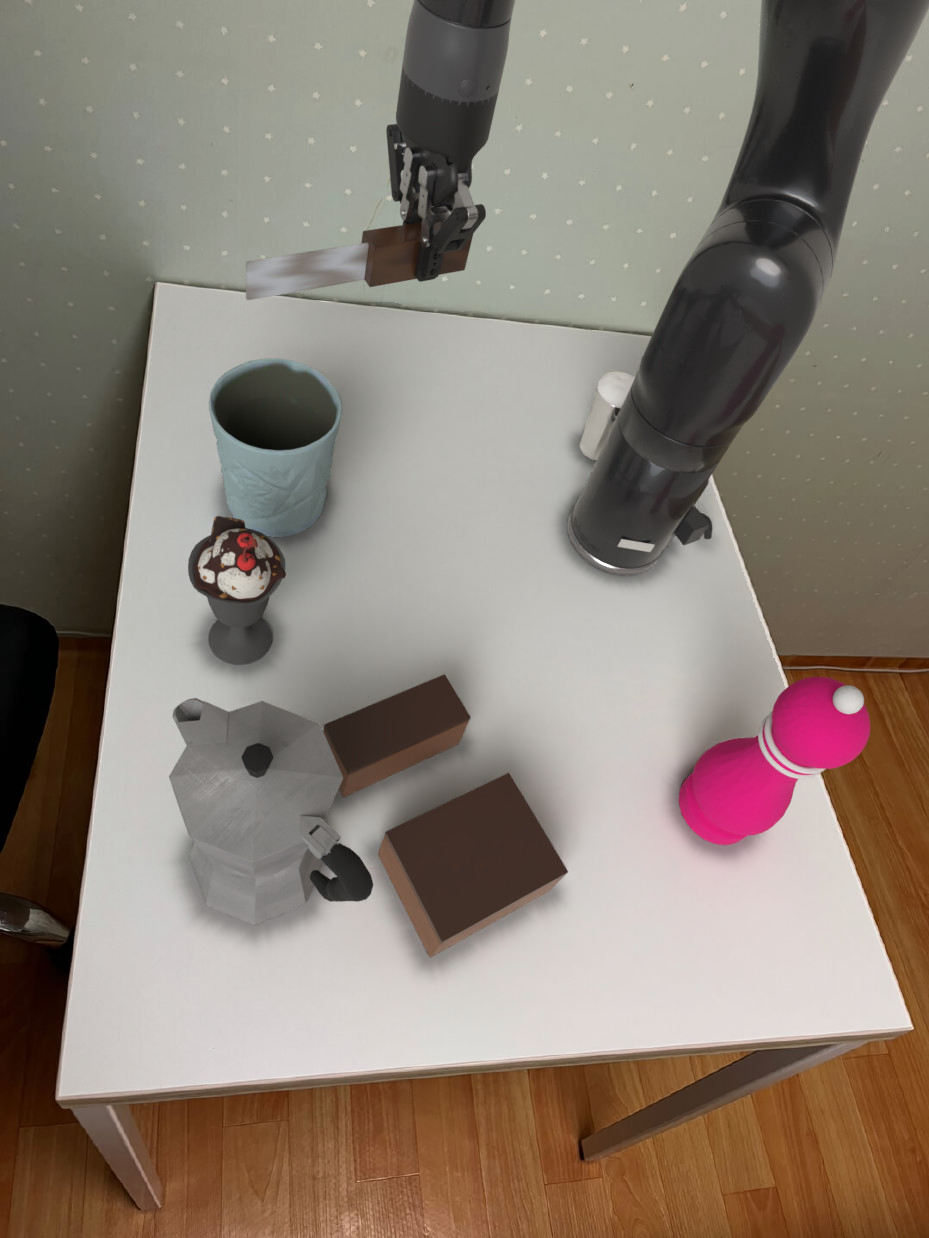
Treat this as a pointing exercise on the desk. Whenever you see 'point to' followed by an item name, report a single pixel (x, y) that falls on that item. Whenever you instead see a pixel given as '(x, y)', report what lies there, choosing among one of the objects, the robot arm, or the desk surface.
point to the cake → (469, 863)
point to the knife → (348, 263)
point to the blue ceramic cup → (275, 442)
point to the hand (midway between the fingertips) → (417, 267)
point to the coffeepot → (261, 810)
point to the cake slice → (396, 733)
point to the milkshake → (604, 411)
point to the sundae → (237, 587)
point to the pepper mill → (774, 760)
